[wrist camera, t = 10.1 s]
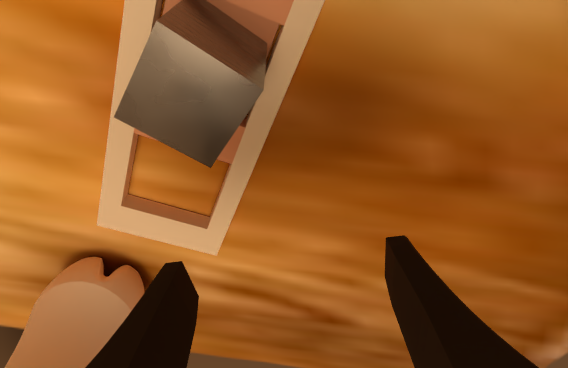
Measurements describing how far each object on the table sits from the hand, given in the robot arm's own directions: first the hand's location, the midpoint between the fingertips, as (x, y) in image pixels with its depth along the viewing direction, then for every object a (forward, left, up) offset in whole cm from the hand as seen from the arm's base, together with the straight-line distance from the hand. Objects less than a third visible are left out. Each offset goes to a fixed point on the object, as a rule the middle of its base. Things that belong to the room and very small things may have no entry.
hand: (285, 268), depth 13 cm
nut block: (+5, -3, -10) cm, 11 cm away
